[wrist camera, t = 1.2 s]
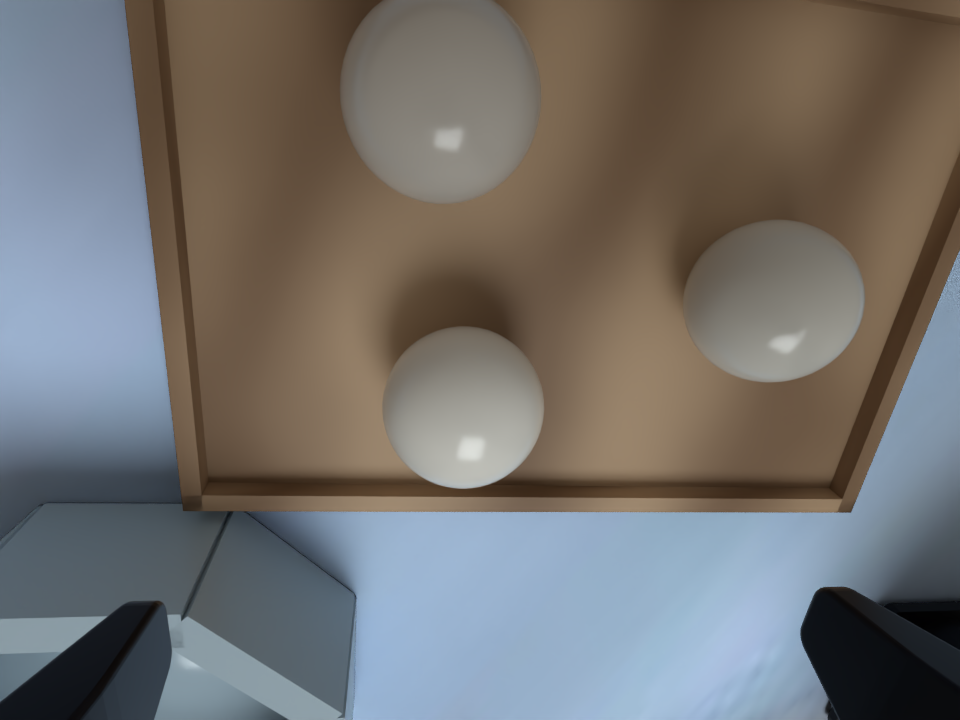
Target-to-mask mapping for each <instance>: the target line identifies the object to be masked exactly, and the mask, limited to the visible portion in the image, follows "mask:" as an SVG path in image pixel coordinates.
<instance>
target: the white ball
mask: <svg viewBox="0 0 960 720" xmlns="http://www.w3.org/2000/svg"><path fill="white" fill-rule="evenodd" d="M382 413H383V422H384V427H385V430H386V433H387V436H388V439H389V441H390V443H391V445H392V447H393V449H394V451H395V452H396V453H397V455H398V456H399V458H400V459H401V460H402V461H403V462H404V463H405V464H406V466H407V467H408V468H410V469H411V470H412V471H413V472H415V473H416V474H417V475H419V476H421V477H422V478H424V479H426V480H428V481H430V482H432V483H434V484H438V485H441V486H445V487H450V488H460V489H466V488H476V487H481V486H485V485H489V484H491V483H494V482H496V481H498V480H500V479H502V478H504V477H505V476H507V475H508V474H510V473H511V472H513V471H514V470H515V469H516V468H517V467H519V466H520V465H521V464H522V463H523V461H524V460H525V459H526V458H527V457H528V455H529V454H530V452H531V451H532V449H533V447H534V445H535V444H536V442H537V440H538V437H539V434H540V432H541V427H542V423H543V418H544V397H543V391H542V386H541V383H540V381H539V378H538V375H537V373H536V371H535V369H534V367H533V365H532V364H531V362H530V361H529V360H528V358H527V357H526V356H525V354H524V353H523V352H522V351H521V350H520V349H519V348H518V347H517V346H516V345H515V344H513V343H512V342H511V341H509V340H508V339H506V338H504V337H503V336H501V335H499V334H497V333H495V332H492V331H490V330H486V329H482V328H478V327H470V326H457V327H449V328H445V329H441V330H437V331H435V332H432V333H430V334H428V335H426V336H424V337H422V338H421V339H419V340H418V341H416V342H415V343H413V344H412V345H411V346H410V347H409V348H408V349H407V350H406V351H404V353H403V354H402V355H401V356H400V357H399V359H398V360H397V362H396V363H395V365H394V367H393V368H392V370H391V372H390V374H389V376H388V379H387V381H386V385H385V389H384V393H383V401H382Z"/></svg>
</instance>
